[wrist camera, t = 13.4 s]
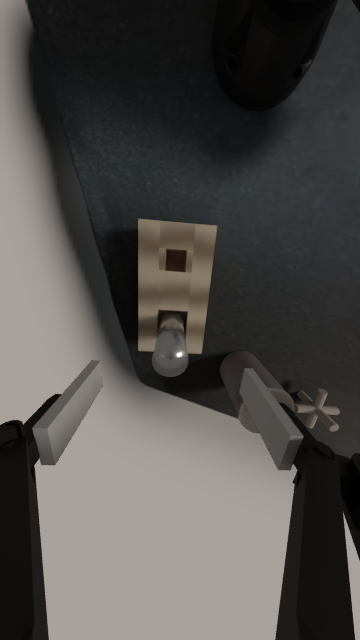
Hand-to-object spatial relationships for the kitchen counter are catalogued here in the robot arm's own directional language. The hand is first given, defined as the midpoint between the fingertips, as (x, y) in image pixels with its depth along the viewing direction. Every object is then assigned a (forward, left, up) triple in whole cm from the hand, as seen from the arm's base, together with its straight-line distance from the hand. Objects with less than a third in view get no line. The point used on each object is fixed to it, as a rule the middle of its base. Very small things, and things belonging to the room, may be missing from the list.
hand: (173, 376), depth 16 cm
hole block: (-5, 0, -23) cm, 23 cm away
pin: (0, 0, -21) cm, 21 cm away
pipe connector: (+20, +35, -23) cm, 46 cm away
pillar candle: (+13, +17, -23) cm, 31 cm away
